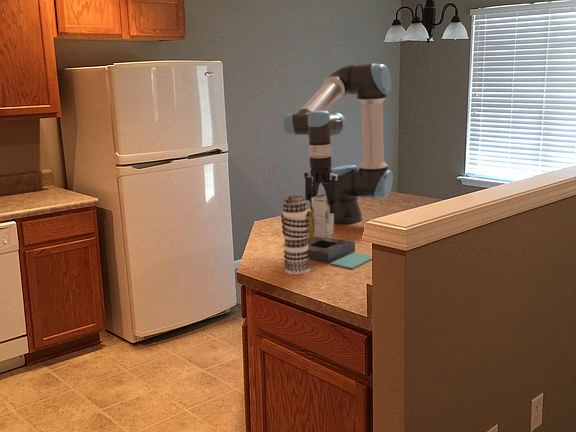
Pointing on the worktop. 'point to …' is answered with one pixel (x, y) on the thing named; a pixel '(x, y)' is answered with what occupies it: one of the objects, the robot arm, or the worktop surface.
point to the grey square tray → (329, 249)
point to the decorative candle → (295, 235)
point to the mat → (352, 261)
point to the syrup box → (321, 217)
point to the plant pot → (310, 226)
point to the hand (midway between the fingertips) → (323, 220)
